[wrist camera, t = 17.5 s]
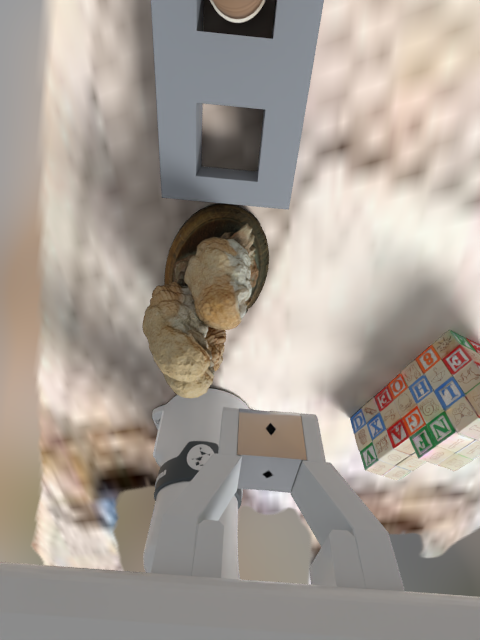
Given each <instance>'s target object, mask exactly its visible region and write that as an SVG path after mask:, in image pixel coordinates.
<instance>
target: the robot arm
mask: <svg viewBox="0 0 480 640" xmlns="http://www.w3.org/2000/svg"><path fill="white" fill-rule="evenodd" d="M152 418H153V421H154V423H155V425H156V428H157V430H158V433H157V438H156V443H155V447H154V452H153V457H154V458H155V459H156V462H157V464H158V465H159V466H160V470H159V474H158V477H157V479H156V484H155V493H154V498H155V501H156V502H155V506H154V511H153V516H152V520H151V524H150V529H149V532H148V536H147V541H146V545H145V550H144V555H143V556H144V557H143V560H144V568H145V571H146V573H142V572H129V571H115V570H102V569H88V568H74V567H60V566H46V565H33V564H19V563H4V562H0V640H480V597H473V596H459V595H446V594H432V593H417V592H405V589H404V585H403V582H402V579H401V575H400V572H399V568H398V565H397V561H396V558H395V554H394V551H393V548H392V544H391V541H390V538H389V534H388V532H387V531H386V529H385V528H384V527H383V526H382V525H381V523H380V522H379V521H378V520H377V519H376V517H375V516H374V515H373V514H372V512H371V511H370V510H369V509H368V508H367V506H366V505H365V504H364V503H363V502H362V500H361V499H360V498H359V497H358V495H357V494H356V493H355V492H354V491H353V489H352V488H351V487H350V486H349V485H348V483H347V482H346V481H345V480H344V479H343V477H342V476H341V475H340V474H339V472H338V471H337V470H336V469H335V468H334V466H333V465H332V464H331V463H328V462H326V461H325V456H324V450H323V445H322V439H321V434H320V429H319V423H318V418H317V416H316V415H313V414H299V413H292V412H277V411H269V412H268V411H259V410H250V409H249V407H248V406H247V405H246V404H245V403H244V402H243V401H242V400H241V399H239V398H238V397H236V396H235V395H233V394H230V393H228V392H225V391H222V390H217V389H210V388H209V389H208V390H207V393H205V394H203V395H201V396H199V397H198V398H183V397H180V396H179V395H176V396H175V397H174V398H173V399H172V400H171V401H169V402H168V403H167V404H166V405H163V406H160V407H157V408H155V409H154V410H153V413H152ZM243 489H256V490H269V491H279V492H288V493H291V495H292V497H293V499H294V501H295V502H296V504H297V506H298V507H299V509H300V511H301V513H302V514H303V516H304V518H305V519H306V521H307V523H308V525H309V526H310V528H311V530H312V531H313V533H314V535H315V537H316V538H317V540H318V542H319V543H320V545H321V547H322V548H321V549H320V551H319V553H318V555H317V556H316V558H315V560H314V561H313V563H312V565H311V567H310V568H309V569H310V579H311V585H308V584H294V583H281V582H267V581H253V580H240V575H239V566H238V537H237V528H238V509H239V508H240V505H241V498H242V495H243Z"/></svg>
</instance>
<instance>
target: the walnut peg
mask: <svg viewBox="0 0 480 640" xmlns="http://www.w3.org/2000/svg"><path fill="white" fill-rule="evenodd" d="M210 1H211V3H212V5H213V7H214V9H215V10H216V11H217V13H218V14H219V15H220V16H221V17H223V18H224V19H226V20H227V21H230V22H232V23H237V24H241V23H245V22H248V21H250V20H251V19H253V18H254V17H255V16H256V15H257V13H258V12H259V11H260V10H261V8H262V6H263V5H264V2H265V0H210Z"/></svg>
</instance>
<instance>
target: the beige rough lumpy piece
mask: <svg viewBox="0 0 480 640" xmlns="http://www.w3.org/2000/svg"><path fill="white" fill-rule="evenodd" d="M268 264H269V250H268V244H267V239H266V235H265V233H264V231H263V230H262V227H261V226H260V223H259V221H258V220H257V219H256V218H255V217H254V215H252V214H251V213H250V212H248V211H246V210H245V209H242V208H241V207H239V206H235V205H232V204H224V203H222V204H216V205H210V206H208V207H205V208H203V209H201V210H199V211H198V212H196V213H195V214H193V215H192V216H191V217H190V218H189V220H187V221H186V222H185V223H184V225H183V226H182V227H181V229H180V230H179V232H178V234H177V235H176V237H175V239H174V241H173V244H172V246H171V248H170V251H169V254H168V258H167V262H166V268H165V285H164V286H157V287H156V288H155V290H153V293H152V297H153V298H151V300H150V306H149V307H147V309H146V311H145V316H144V320H143V332H144V334H145V336H146V337H147V339H148V342H149V348H150V351H151V353H152V355H153V358H154V361H155V362H156V363H157V365H158V367H159V369H160V370H161V371H162V373H163V375H164V377H165V379H166V381H167V383H168V385H169V386H170V387H171V388H172V390H173V391H174V392H175V393H176V394H177V395H179V396H180V397H183V398H198V397H199V396H201V395H203V394H205V393H207V390H208V389H209V387H210V385H211V384H212V382H213V378H214V372H215V371H216V370H218V368H219V365H220V364H221V363H222V361H223V357H222V355H223V352H224V342H225V341H226V333H225V332H226V331H225V330H230V329H233V328H235V327H237V326H238V325H239V324H240V322H241V319H242V318H243V317H244V315H245V314H246V312H247V311H248V308H250V307H251V306H252V305H253V304H254V303H255V301H256V300H257V298H258V296H259V294H260V292H261V290H262V288H263V286H264V283H265V280H266V276H267V272H268Z"/></svg>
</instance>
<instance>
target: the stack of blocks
mask: <svg viewBox="0 0 480 640" xmlns="http://www.w3.org/2000/svg"><path fill="white" fill-rule="evenodd" d="M350 420H351V424H352V428H353V431H354V434H355V439H356V443H357V446H358V450H359V451H360V454H361V458H362V461H363V465H364V468H365V470H366V471H369V472H372V473H375V474H378V475H382V476H385V477H388V478H391V479H394V480H397V481H398V480H400V479H401V478H403V477H404V476H406V475H407V474H409V473H410V472H411V471H414V470H416V469H417V468H419V467H420V466H422V465H423V464H425V463H426V462H429V463H432V464H435V465H439V466H442V467H445V468H448V469H450V470H453V471H456V470H458V469H460V468H461V467H463V466H465V465H466V464H468V463H470V462H471V461H473V460H474V459H476V458H478V457H479V456H480V345H479V344H477V343H475V342H473V341H471V340H469V339H467V338H464V337H462V336H460V335H458V334H456V333H454V332H452V331H450V330H448V331H447V332H446V333H445V334H444V335H443V336H441V337H440V338H439V339H438V340H437V341H436V342H435V343H434V344H432V345H431V346H429V347H428V348H427V349H426V350H425V351H424V352H423V353H422V354H420V355H419V356H418V357H417V358H416V359H415V360H414V361H413V362H411V363H410V364H409V365H408V366H407V367H406V368H405V369H404V370H402V371H401V373H400V374H399V375H398V376H397V377H396V378H395V379H393V380H392V381H391V382H390V383H389V384H388V385H387V386H386V387H385V388H384V389H383V390H381V391H380V392H379V393H378V394H377V395H376V396H375V397H373V398H372V399H371V400H370V401H369V402H368V403H367V404H365V405H364V406H363V407H362V408H361V409H360V410H359V411H358V412H356V413H355V414H354V415H353V416H352V417H351V418H350Z"/></svg>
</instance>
